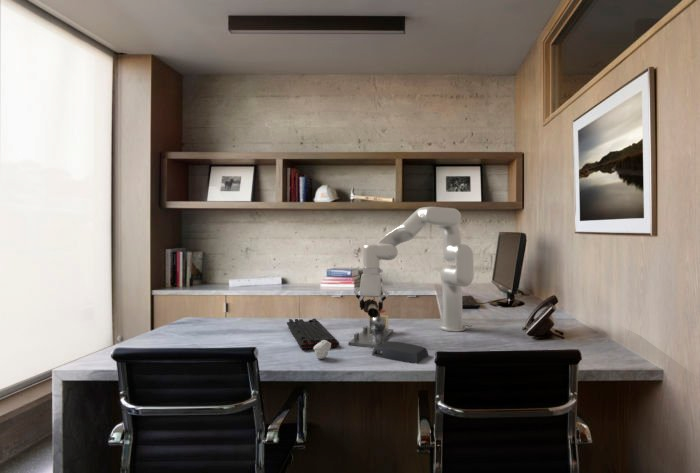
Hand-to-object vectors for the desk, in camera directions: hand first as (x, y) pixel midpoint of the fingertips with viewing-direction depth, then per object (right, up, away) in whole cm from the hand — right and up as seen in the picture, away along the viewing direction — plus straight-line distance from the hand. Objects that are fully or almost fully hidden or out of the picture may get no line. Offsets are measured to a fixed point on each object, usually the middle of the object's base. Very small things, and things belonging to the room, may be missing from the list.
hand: (371, 309), depth 181 cm
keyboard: (-28, -14, +4) cm, 32 cm away
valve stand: (+1, -13, +2) cm, 13 cm away
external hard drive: (+10, -14, -24) cm, 30 cm away
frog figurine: (-20, -14, -27) cm, 37 cm away
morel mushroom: (0, -2, -2) cm, 2 cm away
